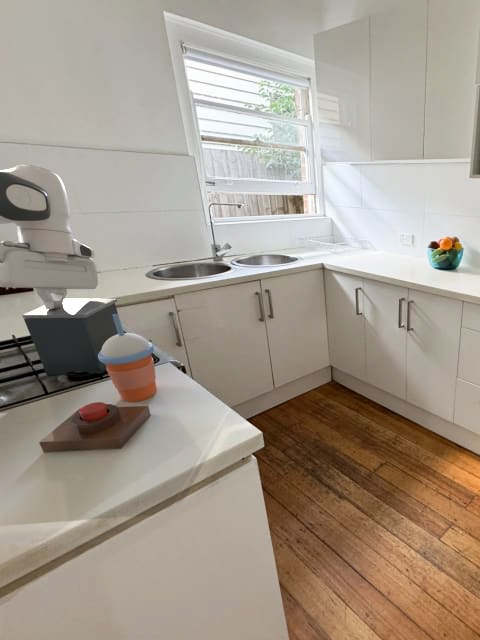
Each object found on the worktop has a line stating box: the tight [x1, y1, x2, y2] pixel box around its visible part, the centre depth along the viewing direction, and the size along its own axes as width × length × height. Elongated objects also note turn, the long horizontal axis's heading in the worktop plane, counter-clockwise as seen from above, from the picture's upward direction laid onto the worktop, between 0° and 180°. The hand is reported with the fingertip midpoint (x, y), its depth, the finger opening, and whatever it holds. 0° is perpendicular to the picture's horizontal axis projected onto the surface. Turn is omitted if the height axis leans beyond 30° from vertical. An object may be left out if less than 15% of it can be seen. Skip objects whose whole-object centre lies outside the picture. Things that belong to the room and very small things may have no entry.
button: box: [78, 401, 108, 421], centre depth 67 cm, size 4×4×2 cm
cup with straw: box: [98, 313, 158, 403], centre depth 77 cm, size 9×9×18 cm
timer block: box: [38, 403, 151, 453], centre depth 68 cm, size 12×10×4 cm
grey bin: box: [23, 302, 119, 376], centre depth 90 cm, size 12×12×14 cm
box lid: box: [21, 298, 118, 319], centre depth 87 cm, size 12×12×1 cm
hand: (55, 309), depth 85 cm, fingers closed, pressing on box lid
